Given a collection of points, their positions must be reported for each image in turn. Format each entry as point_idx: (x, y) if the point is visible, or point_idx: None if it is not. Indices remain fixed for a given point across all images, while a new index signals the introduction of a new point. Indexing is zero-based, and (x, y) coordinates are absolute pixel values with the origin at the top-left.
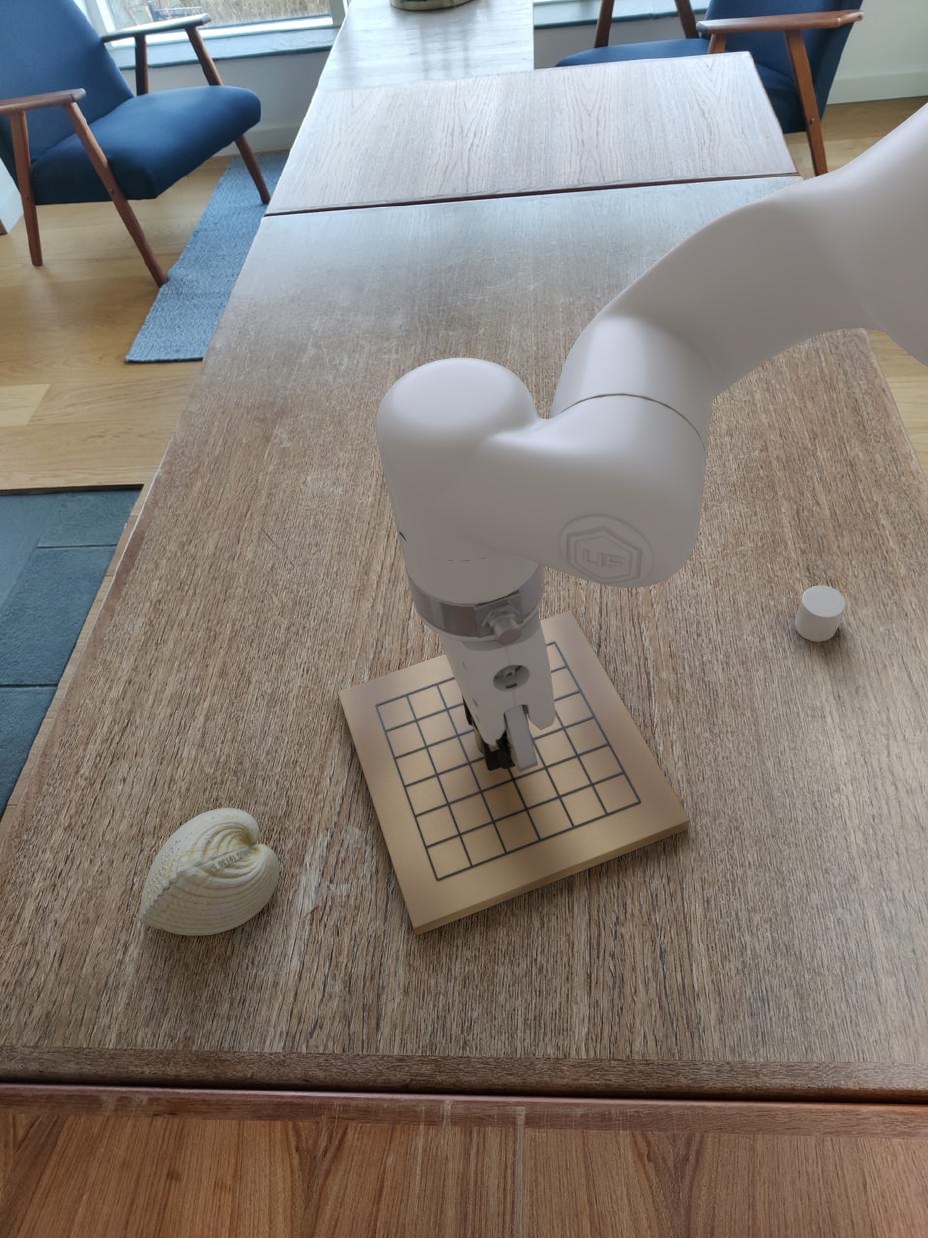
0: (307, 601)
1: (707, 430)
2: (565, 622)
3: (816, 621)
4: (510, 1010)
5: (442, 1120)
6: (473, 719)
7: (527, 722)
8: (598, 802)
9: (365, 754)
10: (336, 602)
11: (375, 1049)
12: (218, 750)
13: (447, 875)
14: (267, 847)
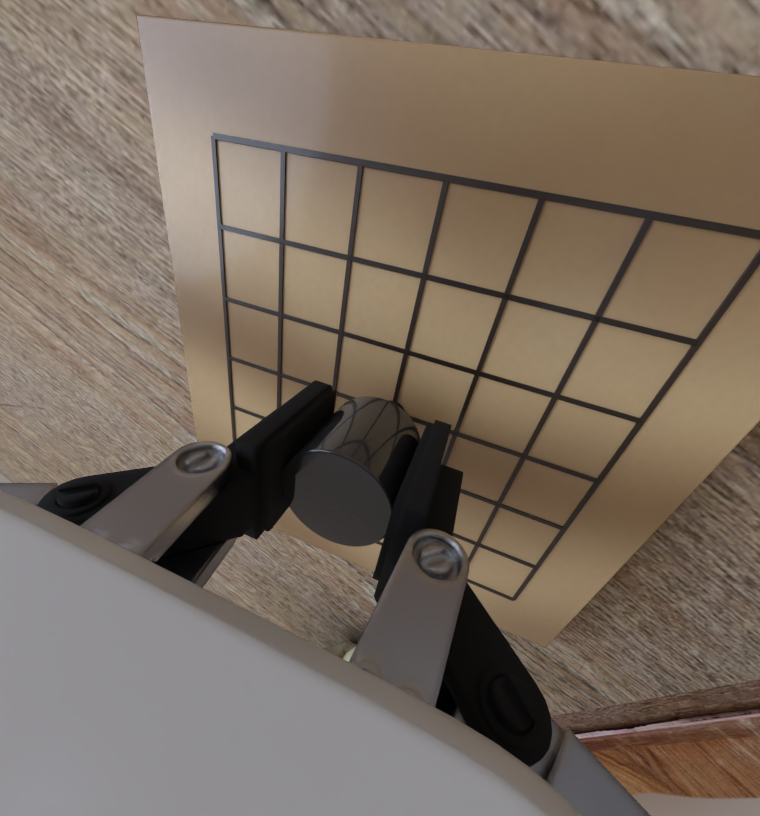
0: (90, 426)
1: None
2: (168, 61)
3: None
4: (744, 635)
5: (752, 732)
6: (319, 532)
7: (446, 656)
8: (648, 337)
9: (297, 532)
10: (93, 403)
11: (610, 702)
12: (237, 576)
13: (519, 591)
14: (351, 653)
